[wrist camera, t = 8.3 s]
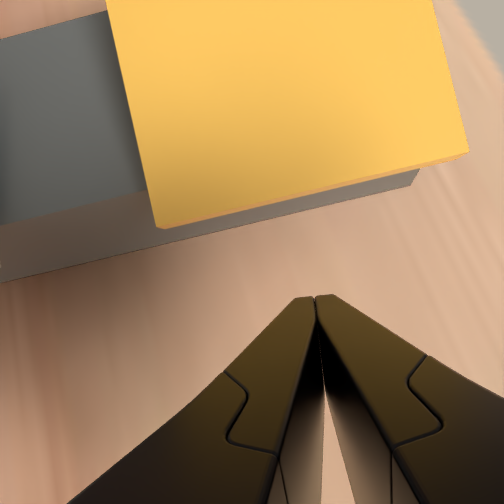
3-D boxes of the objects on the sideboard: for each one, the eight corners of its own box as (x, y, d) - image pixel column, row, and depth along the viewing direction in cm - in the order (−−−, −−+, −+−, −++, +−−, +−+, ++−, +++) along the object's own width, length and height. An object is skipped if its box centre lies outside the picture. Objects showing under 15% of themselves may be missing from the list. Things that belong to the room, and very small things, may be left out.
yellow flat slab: (456, 159, 17) (469, 151, 16) (164, 229, 18) (156, 226, 16) (393, -91, 17) (402, -117, 16) (110, -13, 18) (98, -33, 17)
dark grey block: (410, 185, 24) (461, 99, 16) (-113, 309, 25) (-294, 286, 18) (364, 45, 26) (389, -88, 18) (-112, 168, 28) (-271, 93, 20)
